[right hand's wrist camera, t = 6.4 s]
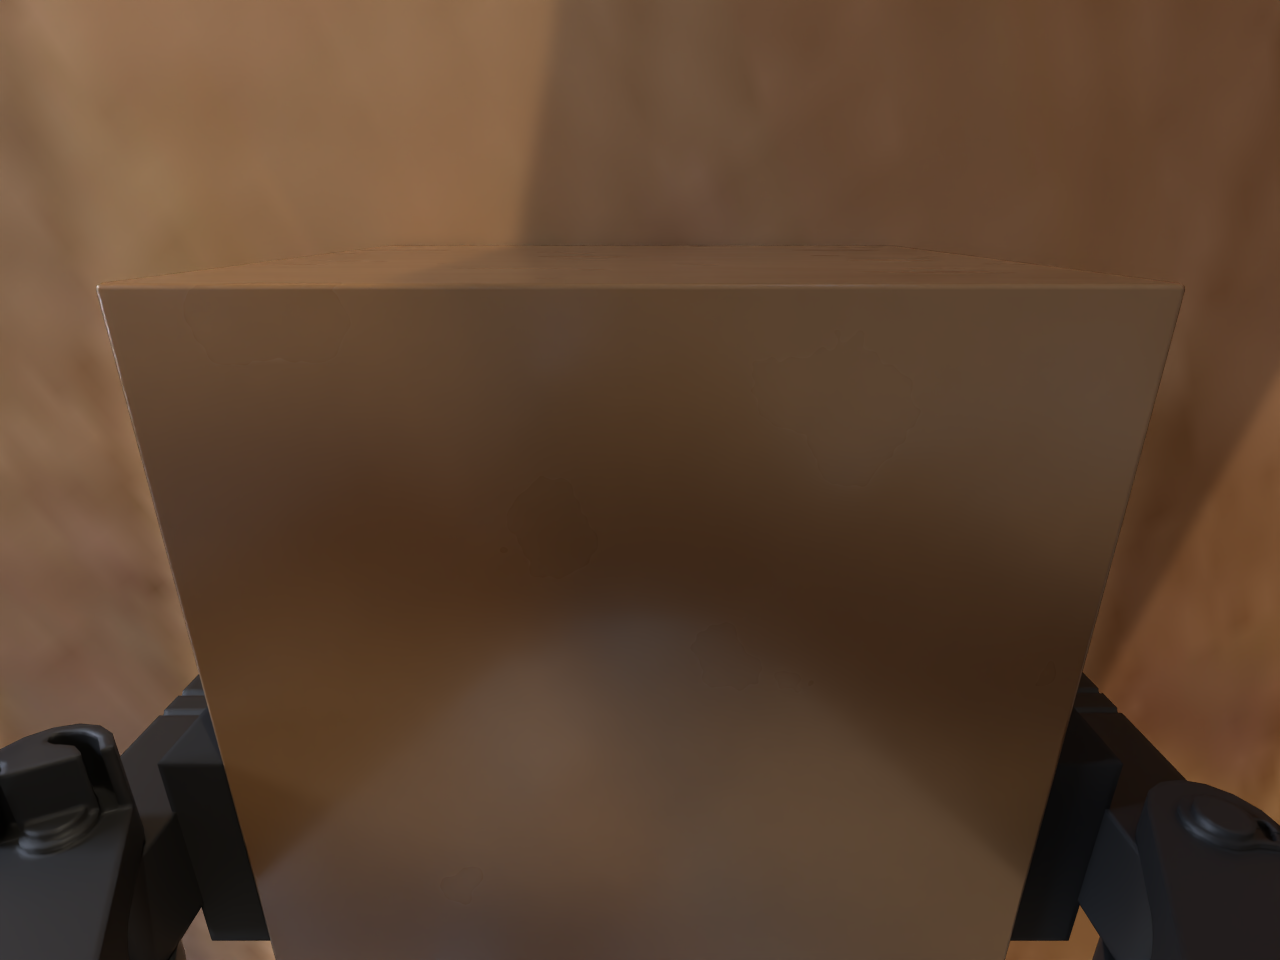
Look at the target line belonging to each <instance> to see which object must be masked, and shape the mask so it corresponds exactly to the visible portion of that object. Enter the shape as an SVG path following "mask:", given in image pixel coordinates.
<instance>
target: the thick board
mask: <svg viewBox="0 0 1280 960" xmlns="http://www.w3.org/2000/svg"><path fill="white" fill-rule="evenodd" d="M96 292H97V295H98V299H99V303H100V307H101V310H102V314H103V318H104V322H105V325H106V329H107V333H108V336H109V340H110V344H111V348H112V351H113V355H114V359H115V363H116V366H117V370H118V374H119V377H120V381H121V385H122V389H123V392H124V396H125V400H126V404H127V407H128V411H129V415H130V418H131V422H132V426H133V430H134V433H135V437H136V441H137V445H138V448H139V452H140V456H141V460H142V463H143V467H144V471H145V474H146V478H147V482H148V486H149V489H150V493H151V497H152V501H153V504H154V508H155V512H156V515H157V519H158V523H159V527H160V530H161V534H162V538H163V542H164V545H165V549H166V553H167V556H168V560H169V564H170V568H171V571H172V575H173V579H174V583H175V586H176V590H177V594H178V597H179V601H180V605H181V609H182V612H183V616H184V620H185V624H186V627H187V631H188V635H189V638H190V642H191V646H192V650H193V653H194V657H195V661H196V665H197V668H198V672H199V676H200V680H201V683H202V687H203V691H204V694H205V698H206V702H207V706H208V709H209V713H210V717H211V721H212V724H213V728H214V732H215V735H216V739H217V743H218V747H219V750H220V754H221V758H222V762H223V765H224V769H225V773H226V776H227V780H228V784H229V788H230V791H231V795H232V799H233V803H234V806H235V810H236V814H237V817H238V821H239V825H240V829H241V832H242V836H243V840H244V844H245V847H246V851H247V855H248V858H249V862H250V866H251V870H252V873H253V877H254V881H255V885H256V888H257V892H258V896H259V899H260V903H261V907H262V911H263V914H264V918H265V922H266V926H267V929H268V933H269V937H270V941H271V944H272V948H273V952H274V955H275V959H276V960H1005V958H1006V954H1007V950H1008V946H1009V943H1010V939H1011V935H1012V931H1013V928H1014V924H1015V920H1016V917H1017V913H1018V909H1019V905H1020V902H1021V898H1022V894H1023V891H1024V887H1025V883H1026V879H1027V876H1028V872H1029V868H1030V864H1031V861H1032V857H1033V853H1034V850H1035V846H1036V842H1037V838H1038V835H1039V831H1040V827H1041V824H1042V820H1043V816H1044V812H1045V809H1046V805H1047V801H1048V798H1049V794H1050V790H1051V786H1052V783H1053V779H1054V775H1055V771H1056V768H1057V764H1058V760H1059V757H1060V753H1061V749H1062V745H1063V742H1064V738H1065V734H1066V731H1067V727H1068V723H1069V719H1070V716H1071V712H1072V708H1073V705H1074V701H1075V697H1076V693H1077V690H1078V686H1079V682H1080V678H1081V675H1082V671H1083V667H1084V664H1085V660H1086V656H1087V652H1088V649H1089V645H1090V641H1091V638H1092V634H1093V630H1094V626H1095V623H1096V619H1097V615H1098V612H1099V608H1100V604H1101V600H1102V597H1103V593H1104V589H1105V585H1106V582H1107V578H1108V574H1109V571H1110V567H1111V563H1112V559H1113V556H1114V552H1115V548H1116V545H1117V541H1118V537H1119V533H1120V530H1121V526H1122V522H1123V519H1124V515H1125V511H1126V507H1127V504H1128V500H1129V496H1130V492H1131V489H1132V485H1133V481H1134V478H1135V474H1136V470H1137V466H1138V463H1139V459H1140V455H1141V452H1142V448H1143V444H1144V440H1145V437H1146V433H1147V429H1148V425H1149V422H1150V418H1151V414H1152V411H1153V407H1154V403H1155V399H1156V396H1157V392H1158V388H1159V385H1160V381H1161V377H1162V373H1163V370H1164V366H1165V362H1166V359H1167V355H1168V351H1169V347H1170V344H1171V340H1172V336H1173V332H1174V329H1175V325H1176V321H1177V318H1178V314H1179V310H1180V306H1181V303H1182V299H1183V295H1184V292H1185V286H1184V285H1182V284H1180V283H1175V282H1167V281H1160V280H1152V279H1144V278H1136V277H1129V276H1121V275H1113V274H1106V273H1098V272H1090V271H1083V270H1075V269H1067V268H1060V267H1052V266H1044V265H1037V264H1029V263H1021V262H1014V261H1006V260H998V259H991V258H983V257H975V256H968V255H960V254H952V253H945V252H937V251H929V250H921V249H914V248H906V247H898V246H382V247H374V248H367V249H359V250H351V251H343V252H336V253H328V254H320V255H313V256H305V257H297V258H290V259H282V260H274V261H267V262H259V263H251V264H244V265H236V266H228V267H220V268H213V269H205V270H197V271H190V272H182V273H174V274H167V275H159V276H151V277H144V278H136V279H128V280H121V281H113V282H105V283H101V284H99V285H97V286H96Z"/></svg>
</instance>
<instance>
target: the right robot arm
mask: <svg viewBox="0 0 1280 960" xmlns="http://www.w3.org/2000/svg"><path fill="white" fill-rule="evenodd" d="M1079 905H1080V906H1081V907H1082V909H1083V910H1084V912H1085V914H1086V915H1087V917H1088V918H1089V920H1090V921H1091V923H1092V925H1093V926H1094V928H1095V929H1096V931H1097V932H1098V934H1099V936H1100V938H1099V941H1098V944H1097V947H1096V950H1095V953H1094V956H1093V959H1092V960H1280V825H1278V824H1277V823H1276V822H1275V821H1274V820H1272V819H1271V818H1270V817H1269V816H1268V815H1266V814H1265V813H1264V812H1263V811H1262V810H1260V809H1258V808H1256V807H1255V806H1253V805H1251V804H1249V803H1248V802H1246V801H1244V800H1242V799H1241V798H1239V797H1237V796H1235V795H1233V794H1231V793H1228V792H1225V791H1223V790H1220V789H1217V788H1215V787H1212V786H1209V785H1207V784H1202V783H1196V782H1190V781H1187V780H1186V779H1185V778H1184V777H1183V776H1182V775H1181V774H1180V773H1179V772H1178V771H1177V770H1176V769H1175V768H1174V767H1173V766H1172V765H1171V764H1170V762H1169V761H1168V760H1167V759H1166V758H1165V757H1164V756H1163V755H1162V754H1161V753H1160V752H1159V751H1158V750H1157V749H1156V748H1155V747H1154V746H1153V745H1152V744H1151V743H1150V742H1149V741H1148V740H1147V739H1146V738H1145V737H1144V735H1143V734H1142V733H1141V732H1140V731H1139V730H1138V729H1137V728H1136V727H1135V726H1134V725H1133V724H1132V723H1131V722H1130V721H1129V720H1128V719H1127V718H1126V717H1125V716H1124V715H1123V714H1122V713H1118V712H1117V707H1116V706H1115V705H1114V704H1113V703H1112V702H1111V701H1110V700H1109V699H1108V698H1107V697H1106V696H1105V695H1104V694H1103V693H1099V691H1098V688H1097V687H1096V686H1095V685H1094V684H1093V683H1092V681H1091V680H1090V679H1089V678H1088V677H1087V676H1086V675H1085V674H1084V673H1083V672H1082V675H1081V678H1080V682H1079V686H1078V690H1077V693H1076V697H1075V701H1074V705H1073V708H1072V712H1071V716H1070V719H1069V723H1068V727H1067V731H1066V734H1065V738H1064V742H1063V745H1062V749H1061V753H1060V757H1059V760H1058V764H1057V768H1056V771H1055V775H1054V779H1053V783H1052V786H1051V790H1050V794H1049V798H1048V801H1047V805H1046V809H1045V812H1044V816H1043V820H1042V824H1041V827H1040V831H1039V835H1038V838H1037V842H1036V846H1035V850H1034V853H1033V857H1032V861H1031V864H1030V868H1029V872H1028V876H1027V879H1026V883H1025V887H1024V891H1023V894H1022V898H1021V902H1020V905H1019V909H1018V913H1017V917H1016V920H1015V924H1014V928H1013V931H1012V935H1011V939H1010V941H1069V938H1070V934H1071V931H1072V928H1073V925H1074V921H1075V918H1076V915H1077V912H1078V909H1079ZM201 907H202V910H203V913H204V917H205V920H206V923H207V926H208V929H209V933H210V936H211V939H212V941H270V937H269V933H268V929H267V926H266V922H265V918H264V914H263V911H262V907H261V903H260V899H259V896H258V892H257V888H256V885H255V881H254V877H253V873H252V870H251V866H250V862H249V858H248V855H247V851H246V847H245V844H244V840H243V836H242V832H241V829H240V825H239V821H238V817H237V814H236V810H235V806H234V803H233V799H232V795H231V791H230V788H229V784H228V780H227V776H226V773H225V769H224V765H223V762H222V758H221V754H220V750H219V747H218V743H217V739H216V735H215V732H214V728H213V724H212V721H211V717H210V713H209V709H208V706H207V702H206V698H205V694H204V691H203V687H202V683H201V680H200V676H199V675H198V676H197V677H196V678H195V679H194V680H193V681H192V682H191V683H190V684H189V685H188V686H187V687H186V688H185V689H184V690H183V694H182V696H178V697H177V698H176V699H175V700H174V701H173V702H172V703H171V704H170V705H169V706H168V707H167V708H166V709H165V710H164V715H163V716H158V717H157V718H156V720H155V721H154V722H153V723H152V724H151V725H150V726H149V727H148V728H147V729H146V730H145V731H144V732H143V733H142V734H141V735H140V736H139V737H138V738H137V739H136V740H135V741H134V743H133V744H132V745H131V746H130V747H129V748H128V749H127V750H126V751H125V752H124V753H123V754H122V755H121V756H120V755H119V752H118V749H117V746H116V743H115V740H114V737H113V734H112V733H111V732H109V731H108V730H106V729H105V728H103V727H102V726H100V725H89V724H74V725H68V726H61V727H55V728H51V729H48V730H45V731H42V732H39V733H36V734H33V735H30V736H27V737H24V738H22V739H20V740H18V741H16V742H14V743H12V744H10V745H8V746H6V747H4V748H2V749H0V960H186V956H185V950H184V947H183V944H182V941H181V938H182V937H183V935H184V934H185V932H186V931H187V929H188V927H189V926H190V924H191V923H192V921H193V920H194V918H195V916H196V915H197V913H198V912H199V910H200V908H201Z"/></svg>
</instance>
